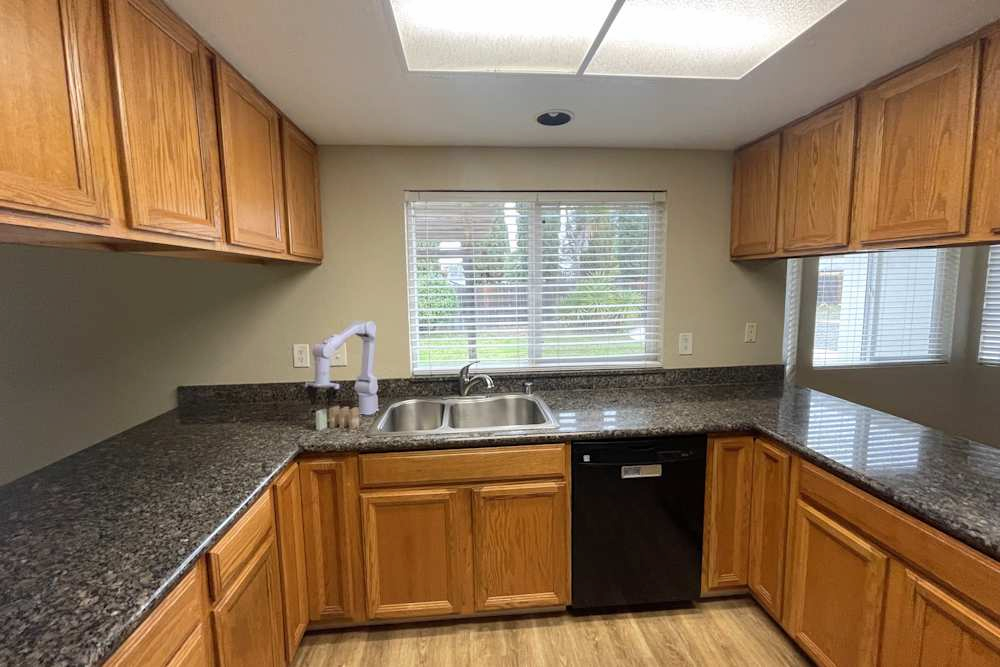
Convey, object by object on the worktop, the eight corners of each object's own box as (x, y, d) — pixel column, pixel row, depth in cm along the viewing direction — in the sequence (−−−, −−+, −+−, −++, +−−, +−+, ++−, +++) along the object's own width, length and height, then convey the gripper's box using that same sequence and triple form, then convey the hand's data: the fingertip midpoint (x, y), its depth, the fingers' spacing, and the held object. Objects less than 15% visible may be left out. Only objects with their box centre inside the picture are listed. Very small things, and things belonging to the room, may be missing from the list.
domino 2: (330, 427, 177) (329, 408, 176) (336, 423, 182) (336, 405, 181) (333, 427, 177) (332, 409, 176) (340, 423, 182) (339, 406, 181)
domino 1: (316, 430, 173) (315, 411, 172) (323, 426, 178) (322, 408, 177) (319, 431, 173) (319, 412, 172) (327, 427, 178) (326, 408, 177)
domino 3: (339, 428, 176) (339, 409, 176) (346, 424, 181) (345, 406, 180) (343, 428, 176) (342, 409, 175) (349, 424, 181) (348, 406, 180)
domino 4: (349, 428, 176) (348, 410, 175) (355, 425, 180) (355, 407, 180) (352, 429, 175) (352, 410, 174) (359, 425, 180) (358, 407, 179)
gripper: (300, 372, 171) (299, 405, 172) (332, 374, 168) (331, 408, 169) (311, 370, 178) (310, 402, 179) (342, 372, 175) (341, 404, 176)
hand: (321, 404), depth 174 cm, fingers open, 7 cm apart
